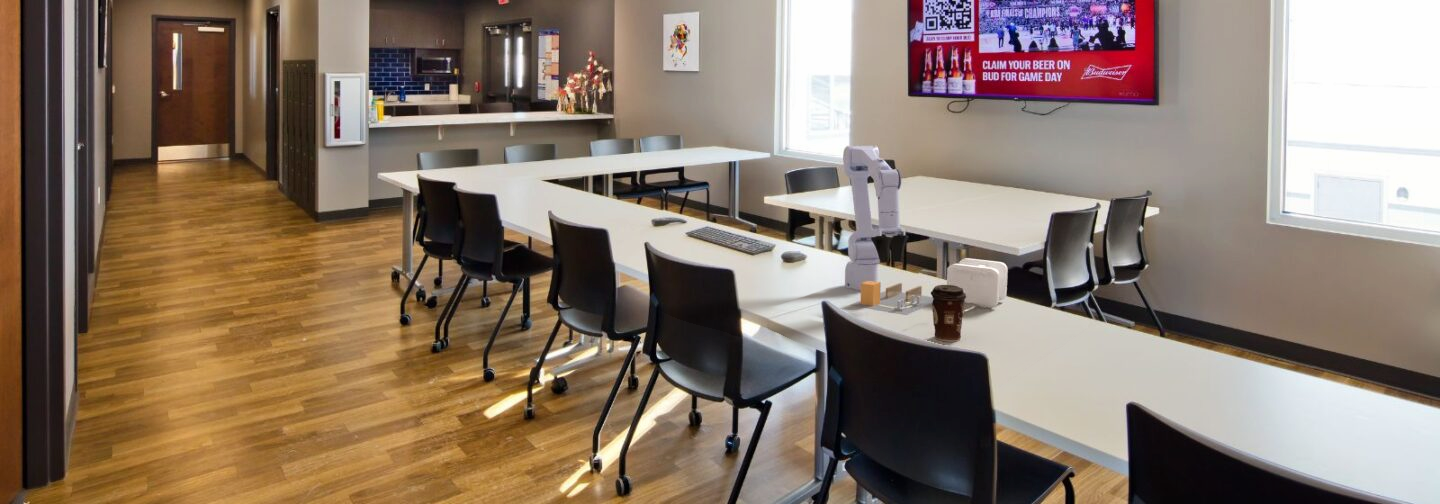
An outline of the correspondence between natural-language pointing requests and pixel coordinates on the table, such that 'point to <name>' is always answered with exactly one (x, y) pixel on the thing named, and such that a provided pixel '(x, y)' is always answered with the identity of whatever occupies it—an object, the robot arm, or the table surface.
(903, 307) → the mat
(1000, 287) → the cable organizer
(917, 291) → the end holder
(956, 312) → the coffee cup
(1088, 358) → the table surface
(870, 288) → the orange rectangular block
